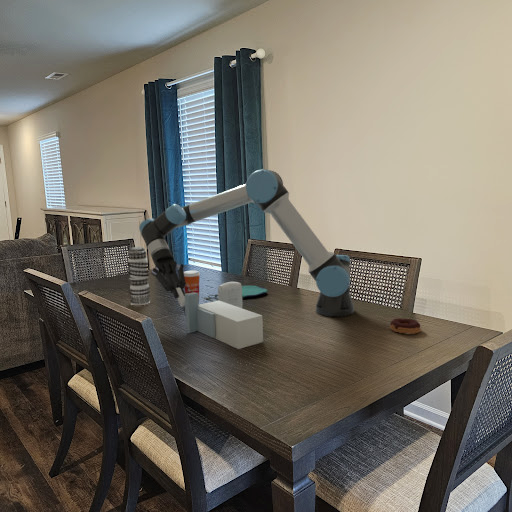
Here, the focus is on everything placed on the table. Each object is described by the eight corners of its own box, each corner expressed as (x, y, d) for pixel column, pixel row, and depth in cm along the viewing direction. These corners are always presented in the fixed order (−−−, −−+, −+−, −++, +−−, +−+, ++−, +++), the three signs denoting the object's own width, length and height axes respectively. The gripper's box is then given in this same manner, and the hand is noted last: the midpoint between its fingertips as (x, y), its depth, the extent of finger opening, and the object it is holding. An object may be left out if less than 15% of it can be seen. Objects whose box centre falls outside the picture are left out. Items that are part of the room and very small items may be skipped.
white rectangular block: (262, 341, 150) (262, 315, 148) (238, 349, 144) (237, 321, 142) (219, 323, 170) (219, 300, 169) (196, 329, 164) (195, 305, 163)
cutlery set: (275, 295, 212) (274, 290, 212) (218, 306, 197) (217, 301, 196) (252, 288, 229) (252, 283, 229) (198, 298, 213) (197, 293, 213)
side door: (215, 337, 154) (213, 298, 152) (204, 340, 151) (203, 300, 149) (196, 328, 163) (195, 292, 161) (186, 331, 161) (184, 294, 159)
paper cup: (184, 306, 196) (183, 274, 194) (182, 301, 204) (181, 271, 201) (202, 304, 198) (201, 272, 196) (200, 300, 206) (198, 269, 203)
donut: (423, 329, 159) (423, 318, 159) (417, 337, 151) (417, 326, 150) (394, 325, 165) (394, 314, 164) (386, 333, 156) (387, 322, 156)
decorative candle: (125, 305, 199) (121, 249, 195) (137, 300, 208) (133, 246, 204) (143, 306, 196) (140, 249, 192) (154, 301, 205) (151, 246, 201)
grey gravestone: (238, 308, 191) (237, 279, 189) (244, 310, 187) (243, 281, 185) (217, 312, 185) (216, 282, 183) (222, 315, 182) (221, 284, 180)
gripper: (173, 257, 181) (196, 306, 171) (142, 261, 174) (164, 313, 163) (178, 245, 176) (202, 295, 166) (147, 249, 169) (170, 301, 158)
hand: (183, 304), depth 165 cm, fingers closed
